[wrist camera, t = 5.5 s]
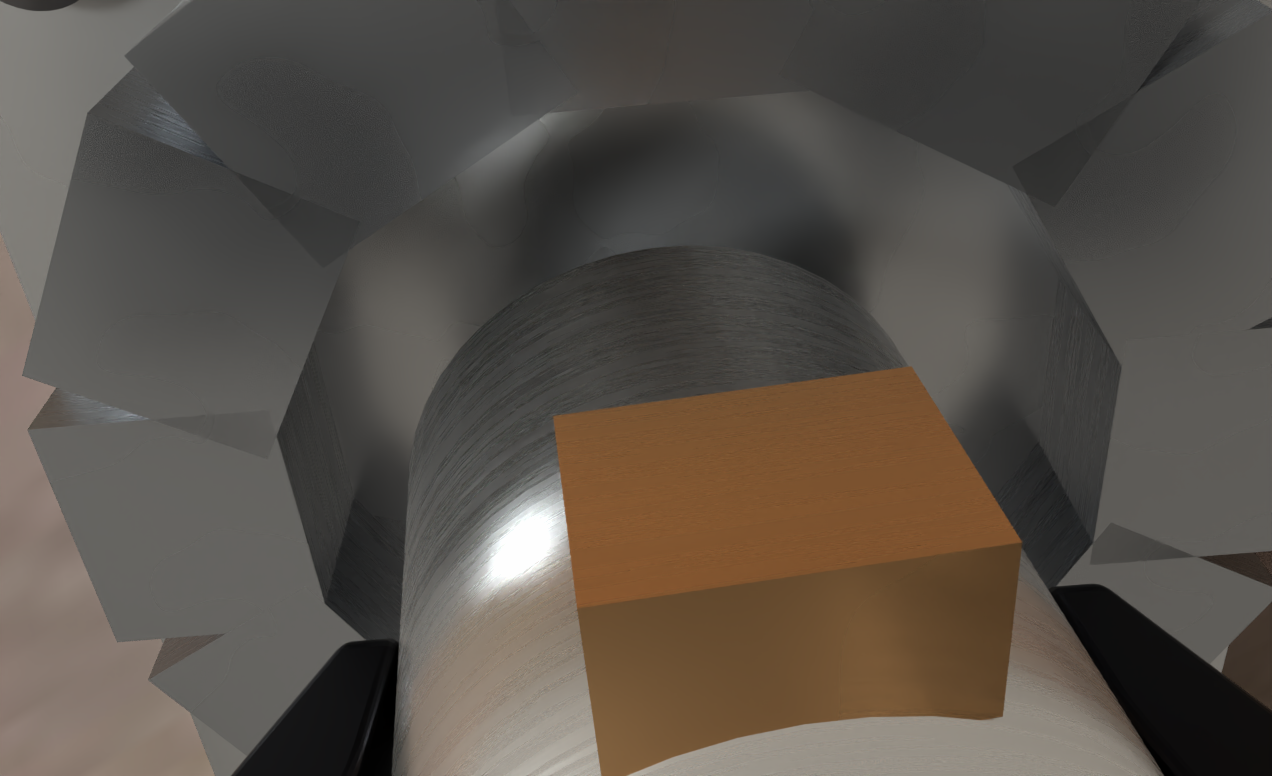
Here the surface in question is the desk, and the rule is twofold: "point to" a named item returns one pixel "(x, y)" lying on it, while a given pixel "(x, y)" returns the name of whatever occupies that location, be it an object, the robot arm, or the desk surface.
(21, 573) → the desk surface
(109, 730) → the desk surface
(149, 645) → the desk surface
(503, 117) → the duct flange
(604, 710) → the silver metal cylinder
